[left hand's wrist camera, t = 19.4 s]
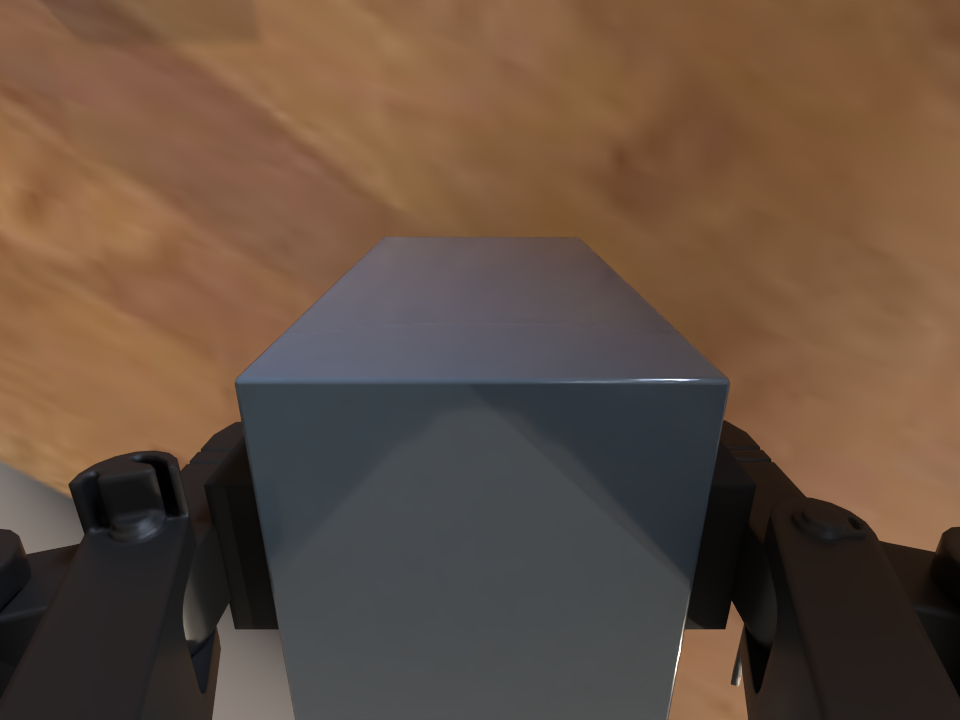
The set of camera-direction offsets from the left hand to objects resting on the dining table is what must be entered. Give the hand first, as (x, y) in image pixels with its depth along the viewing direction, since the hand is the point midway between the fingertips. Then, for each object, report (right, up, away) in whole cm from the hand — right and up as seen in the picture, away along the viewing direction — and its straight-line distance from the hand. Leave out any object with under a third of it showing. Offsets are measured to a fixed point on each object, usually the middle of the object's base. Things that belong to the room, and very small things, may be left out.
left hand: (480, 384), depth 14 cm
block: (0, +2, +4) cm, 5 cm away
